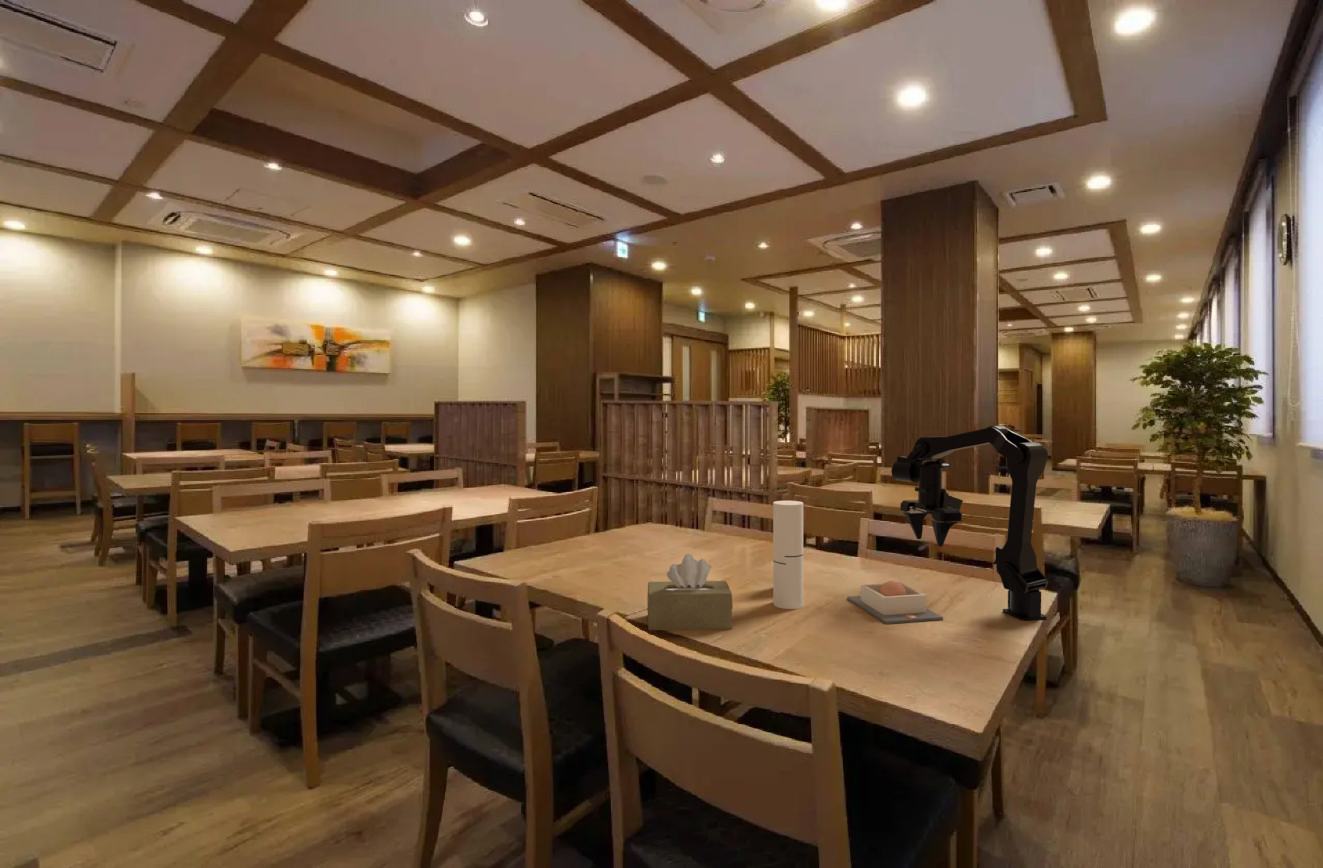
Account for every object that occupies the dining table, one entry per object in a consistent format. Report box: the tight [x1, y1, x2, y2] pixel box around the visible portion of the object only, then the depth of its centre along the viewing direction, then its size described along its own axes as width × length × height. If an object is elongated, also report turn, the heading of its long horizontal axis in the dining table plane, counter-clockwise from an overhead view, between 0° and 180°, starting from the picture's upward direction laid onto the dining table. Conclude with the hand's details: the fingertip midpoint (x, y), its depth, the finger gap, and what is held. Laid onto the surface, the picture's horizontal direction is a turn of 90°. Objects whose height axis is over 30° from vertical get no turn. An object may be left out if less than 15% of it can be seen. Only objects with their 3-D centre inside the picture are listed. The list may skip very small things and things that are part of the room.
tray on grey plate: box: [846, 581, 944, 625], centre depth 144 cm, size 18×14×5 cm
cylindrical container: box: [772, 500, 804, 610], centre depth 147 cm, size 7×7×25 cm
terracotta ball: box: [880, 580, 907, 597], centre depth 144 cm, size 6×6×6 cm
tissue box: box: [646, 553, 733, 631], centre depth 136 cm, size 19×10×16 cm, turn 91°
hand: (929, 542), depth 160 cm, fingers open, 9 cm apart
